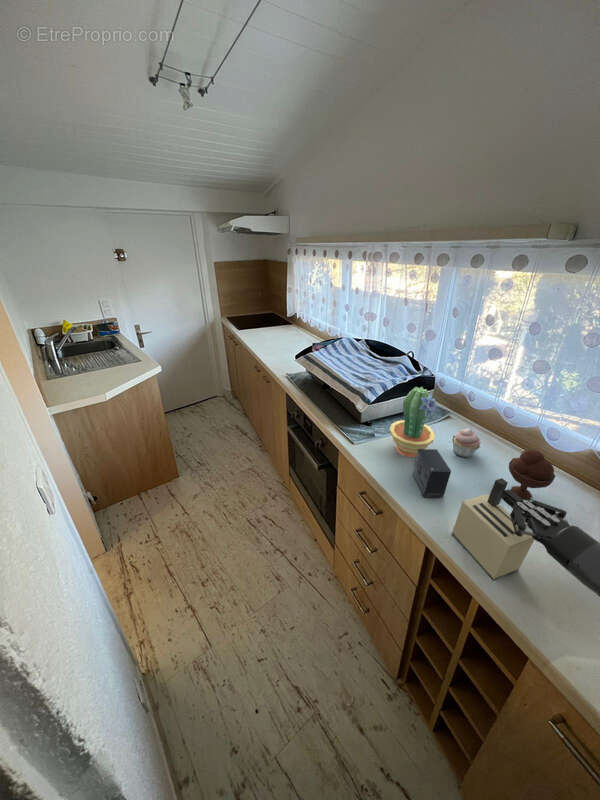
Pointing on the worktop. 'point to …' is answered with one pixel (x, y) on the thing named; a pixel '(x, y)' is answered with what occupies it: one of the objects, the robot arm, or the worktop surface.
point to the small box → (431, 473)
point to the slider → (497, 491)
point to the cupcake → (465, 443)
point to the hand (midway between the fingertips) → (504, 492)
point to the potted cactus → (414, 423)
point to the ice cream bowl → (530, 472)
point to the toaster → (490, 537)
